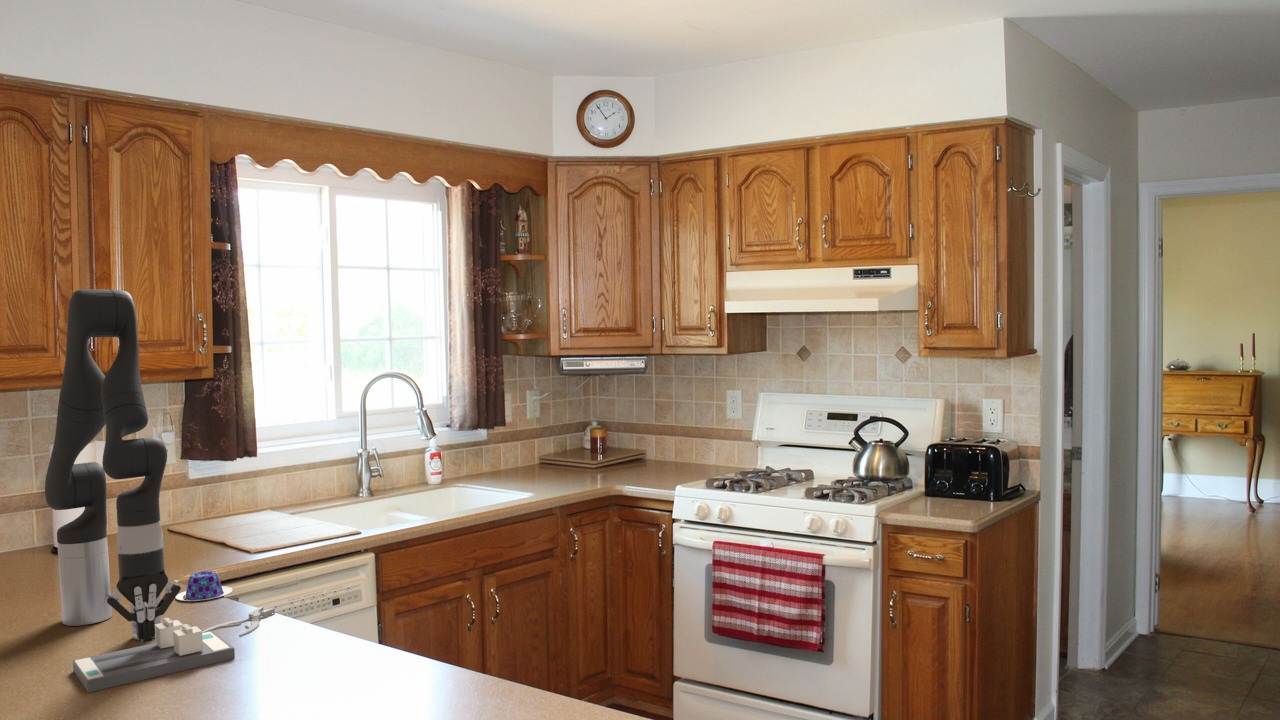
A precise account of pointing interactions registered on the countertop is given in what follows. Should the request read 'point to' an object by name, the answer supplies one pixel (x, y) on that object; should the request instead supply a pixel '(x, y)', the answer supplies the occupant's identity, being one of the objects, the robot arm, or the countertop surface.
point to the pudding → (204, 587)
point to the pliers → (253, 616)
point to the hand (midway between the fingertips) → (146, 640)
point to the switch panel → (147, 663)
